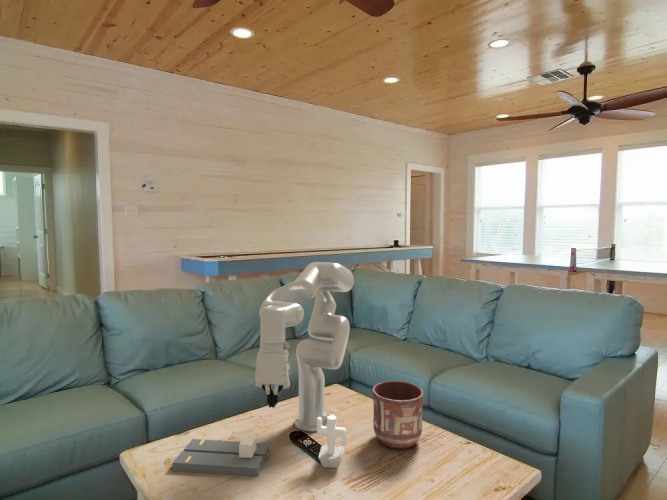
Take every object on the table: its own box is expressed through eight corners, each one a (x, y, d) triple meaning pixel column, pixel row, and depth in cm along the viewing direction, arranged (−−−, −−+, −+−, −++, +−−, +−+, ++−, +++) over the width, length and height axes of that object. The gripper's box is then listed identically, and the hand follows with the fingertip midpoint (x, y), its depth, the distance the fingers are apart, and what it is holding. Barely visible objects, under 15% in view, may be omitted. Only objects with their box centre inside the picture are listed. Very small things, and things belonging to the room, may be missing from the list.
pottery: (360, 439, 145) (361, 388, 144) (394, 423, 156) (394, 376, 155) (400, 461, 131) (401, 405, 130) (433, 442, 143) (434, 391, 142)
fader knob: (256, 452, 133) (256, 437, 132) (251, 461, 128) (251, 445, 127) (244, 451, 133) (244, 436, 133) (239, 460, 128) (238, 444, 128)
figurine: (345, 471, 126) (345, 423, 125) (314, 468, 127) (314, 420, 126) (347, 458, 133) (348, 412, 132) (318, 455, 134) (318, 410, 133)
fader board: (269, 450, 137) (269, 442, 137) (257, 476, 123) (257, 467, 123) (192, 446, 139) (192, 438, 139) (172, 470, 125) (172, 461, 125)
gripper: (299, 344, 130) (298, 402, 131) (252, 342, 132) (252, 399, 133) (294, 351, 123) (294, 412, 124) (245, 349, 124) (245, 409, 125)
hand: (272, 405), depth 128 cm, fingers closed
